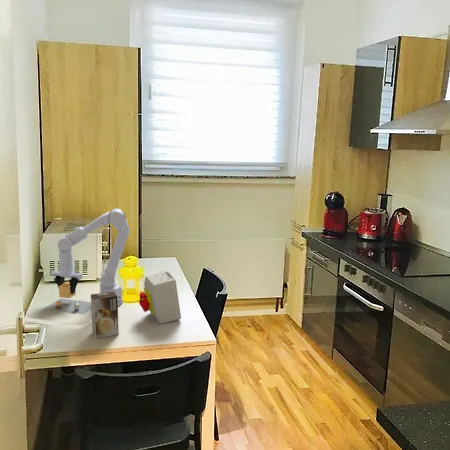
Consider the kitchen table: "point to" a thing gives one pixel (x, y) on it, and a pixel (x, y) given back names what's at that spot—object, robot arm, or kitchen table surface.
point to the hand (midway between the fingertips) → (67, 292)
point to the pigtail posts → (58, 305)
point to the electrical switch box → (161, 297)
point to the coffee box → (104, 314)
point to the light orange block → (65, 290)
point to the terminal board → (70, 306)
